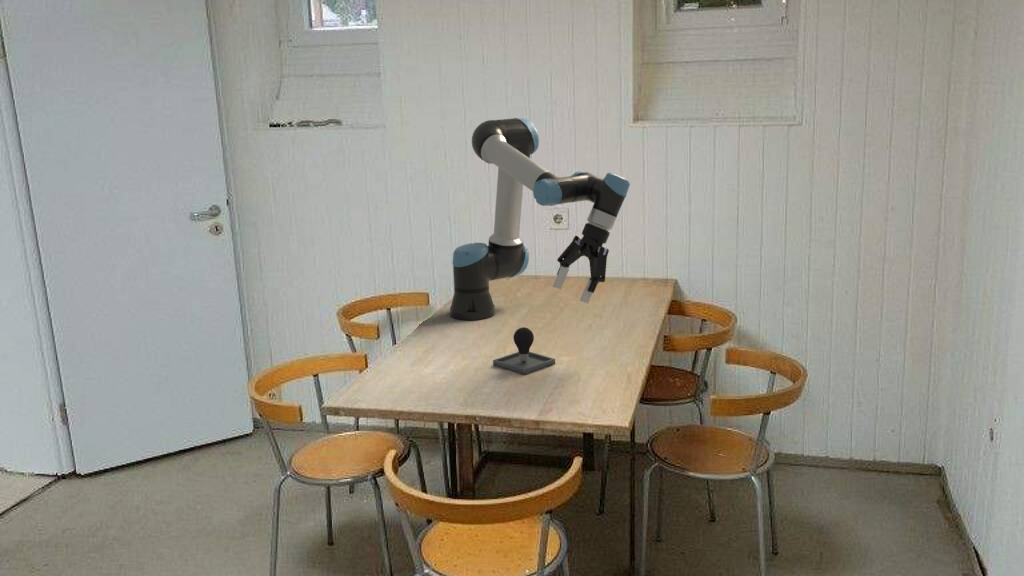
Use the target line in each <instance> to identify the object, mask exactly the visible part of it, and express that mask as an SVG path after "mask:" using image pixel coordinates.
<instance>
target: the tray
mask: <svg viewBox="0 0 1024 576" xmlns="http://www.w3.org/2000/svg"><path fill="white" fill-rule="evenodd" d="M519 356H520V355H519V351H516V352H514V353H511V354H508V355H504V356H502V357H499V358H495V359H493V360H492V366H493V367H494V366H495V367H498V368H501V369H504V370H507V371H511V372H513V373H517V374H520V375H523V376H526V375H527V374H528V375H529V374H531V373H534V372H536V371H539V370H543V369H546V368H548V367H551V366H554V365H556V358H553V357H550V356H545V355H543V354H538V353H536V352H533V351H529V353H528V360H527V361H526V362H525V363H523V362H522V361H520V358H519ZM553 364H554V365H553Z"/></svg>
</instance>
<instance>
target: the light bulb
mask: <svg viewBox="0 0 1024 576" xmlns="http://www.w3.org/2000/svg"><path fill="white" fill-rule="evenodd" d="M534 339H535V335H534V333H533V331H532V330H531V329H529V328H527V327H519V328H517V329H516V330H515V332H514V333H513V342H514V344H515V346H516V347H517V350H518V351H517V352H519V355H520V356H519V358H520V361H522V362H523V363H525V362H526V361H527V360H528V353H529V352H530V349H531V347H532V345H533V343H534Z"/></svg>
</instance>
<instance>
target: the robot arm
mask: <svg viewBox="0 0 1024 576" xmlns="http://www.w3.org/2000/svg"><path fill="white" fill-rule="evenodd" d="M538 132H539V131H538V130H537V128H536V127H535V124H534V123H533V122H532V121H531V120H529V119H527V118H520V117H519V118H518V117H517V118H516V117H514V118H504V119H503V118H501V119H489V120H485V121H483V122H481V123H479V124H478V126H477V127H476V128H475V129H474V131H473V133H472V136H471V145H472V150H473V151H474V153H475V154H476V157H478V158H479V159H480V160H482V161H483V162H485V163H487V164H489V165H490V164H491V165H492V164H493V165H495V166H496V167H498V170H497V179H496V180H497V184H496V197H495V211H494V212H495V213H494V225H493V233H492V234H491V235H490V236H489V237H488V244H486V243H485V242H473V243H471V242H470V243H465V244H462V245H459V246H458V247H456V248H454V251H453V253H452V267H453V271H452V272H453V287H454V288H453V289H454V290H453V297H452V300H451V305H450V306H449V316H450V317H451V318H453V319H455V320H456V319H457V320H462V321H463V320H466V321H474V320H475V321H477V320H484V319H489V318H491V317H494V316H495V315H496V308H495V307H496V306H495V304H494V301H493V298H492V296H491V293H490V281H496V280H501V279H507V278H513V277H515V276H516V277H517V276H520V275H521V274H523V273H524V272H525V271H526V269H527V268H528V265H529V261H530V253H529V251H528V246H527V245H526V244H525V243H524V239H523V238H522V237H521V236H520V228H521V217H522V204H523V203H522V202H523V191H524V186H525V188H527V189H529V190H530V191H531V192H532V193H533V198H534V199H535V202H536V203H537V204H538V205H540V206H543V207H545V206H547V207H551V206H552V207H553V206H556V205H563V204H569V203H577V202H583V201H584V202H585V201H586V202H588V201H589V202H591V203H593V205H592V207H591V209H590V213H589V214H588V216H587V218H586V220H587V222H588V223H587V222H586V223H585V224H584V227H583V229H582V231H581V235H582V237H581V236H579V235H574V237H573V239H572V241H571V242H570V243H569V245H567V247H566V248H565V249H564V251H562V253H561V254H560V255H559V256H558V258H557V259H556V260H557V262H559V268H558V270H557V273H556V277H555V280H554V282H553V283H552V287H553V288H556V289H559V290H561V289H562V288H563V285H564V283H565V280H566V278H567V276H568V273H569V271H570V266H571V265H573V264H574V263H575V262H576V261H578V260H579V259H580V258H581V257H586V258H587V259H588V261H589V271H590V278H588V280H587V282H586V284H585V287H584V290H583V291H582V294H581V296H580V299H579V301H580V302H582V303H585V304H589V302H590V299H591V298H592V295H593V294H594V292H595V291H596V288H597V286H598V284H599V283H605V281H606V274H607V273H606V271H607V261H608V260H607V259H608V254H609V252H610V249H609V248H607V247H604V246H603V245H605V244H606V243H607V241H608V239H609V237H610V234H611V233H610V231H611V230H612V229H613V227H614V225H615V222H616V219H617V217H618V215H619V212H620V210H621V208H622V205H623V203H624V201H625V199H626V197H627V194H628V191H629V188H630V185H631V184H630V183H631V182H630V181H629V180H628V179H627V178H624V177H622V176H621V175H618V174H615V173H611V172H607V173H606V174H605V176H604V178H602V177H600V176H597V175H594V174H592V173H590V172H585V171H579V170H578V171H576V172H574V173H573V174H571V176H562V177H561V176H560V177H559V176H558V175H557V176H556V175H555V174H554V173H552V172H551V171H549V170H547V168H545V167H544V166H542V165H541V164H539V163H538V162H535V161H534V160H533V159H531V155H533V154H535V152H536V151H537V150H538V149H539V145H540V137H539V133H538Z"/></svg>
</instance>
